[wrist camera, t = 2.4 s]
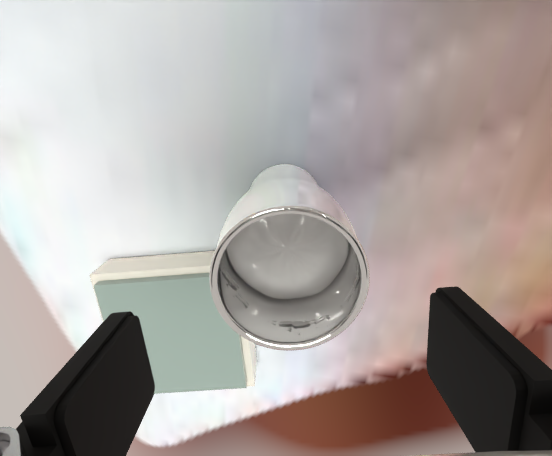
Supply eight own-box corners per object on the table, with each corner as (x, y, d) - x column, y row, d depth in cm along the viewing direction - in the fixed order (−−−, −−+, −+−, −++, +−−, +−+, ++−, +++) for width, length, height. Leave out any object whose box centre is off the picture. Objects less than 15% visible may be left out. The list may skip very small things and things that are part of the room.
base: (242, 248, 29) (236, 267, 25) (256, 361, 33) (253, 392, 29) (109, 258, 30) (83, 279, 26) (138, 369, 33) (119, 401, 29)
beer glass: (289, 254, 29) (297, 381, 15) (226, 205, 28) (170, 293, 14) (343, 195, 28) (411, 274, 13) (279, 139, 26) (278, 161, 12)
